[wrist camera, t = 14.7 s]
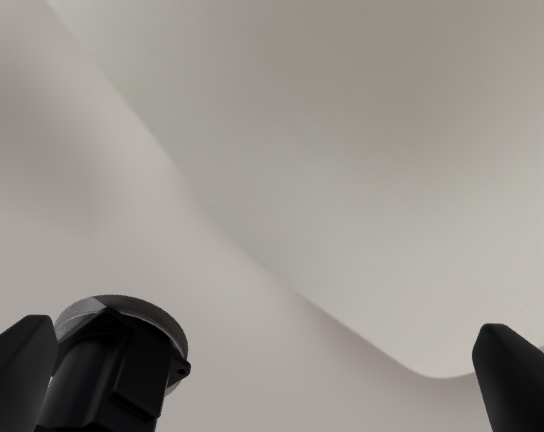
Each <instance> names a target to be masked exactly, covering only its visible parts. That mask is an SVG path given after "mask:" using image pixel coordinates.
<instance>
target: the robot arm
mask: <svg viewBox="0 0 544 432" xmlns="http://www.w3.org/2000/svg"><path fill="white" fill-rule="evenodd" d="M107 316H110V317H107ZM472 361H473V365H474V368H475V372H476V375H477V379H478V382H479V385H480V389H481V393H482V396H483V400H484V403H485V407H486V411H487V414H488V417H489V421H490V424H491V427H492V430H493V432H544V353H543V352H542V351H540V350H539V349H538V348H536V347H535V346H534V345H532V344H531V343H530V342H528V341H527V340H526V339H524V338H523V337H521V336H520V335H519V334H517V333H516V332H515V331H513V330H512V329H511V328H509V327H508V326H506V325H504V324H493V323H487V324H484V325H483V326H482V327H481V329H480V332H479V335H478V337H477V340H476V342H475V345H474V348H473V351H472ZM190 369H191V365H190V363H189V362H188V361H186V360H185V359H183V358H182V357H181V356H179V355H178V354H176V353H175V352H174V351H172V350H171V349H170V348H168V347H167V346H165V345H164V344H163V343H161V342H160V341H159V340H157V339H156V338H154V337H153V336H152V335H150V334H149V333H147V332H146V331H145V330H143V329H142V328H141V327H139V326H138V325H136V324H135V323H134V322H132V321H131V320H129V319H128V318H127V317H125V316H124V315H123V314H121V313H120V312H118V311H117V310H116V309H114V308H111V307H104V308H102V309H101V310H99V311H98V312H97V313H95V314H94V315H93V316H92V317H90V318H89V319H88V320H86V321H85V322H84V323H82V324H81V325H80V326H78V327H77V328H76V329H74V330H73V331H72V332H70V333H69V334H68V335H66V336H65V337H64V338H62V339H61V340H60V341H57V337H56V334H55V330H54V326H53V323H52V320H51V318H50V317H49V316H48V315H27V316H25V317H24V318H23V319H21V320H20V321H18V322H17V323H15V324H14V325H13V326H11V327H10V328H8V329H7V330H6V331H4V332H3V333H1V334H0V432H155V429H156V424H157V420H158V418H159V417H160V415H161V411H162V407H163V401H164V397H165V392H166V389H167V388H169V387H170V386H172V385H174V384H175V383H177V382H179V381H180V380H182V379H183V378H185V377H187V376H188V375H189V374H190ZM51 376H52V377H53V378H52V380H51V382H50V385H49V381H50V378H51ZM48 385H49V387H48ZM47 388H48V389H47Z"/></svg>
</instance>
